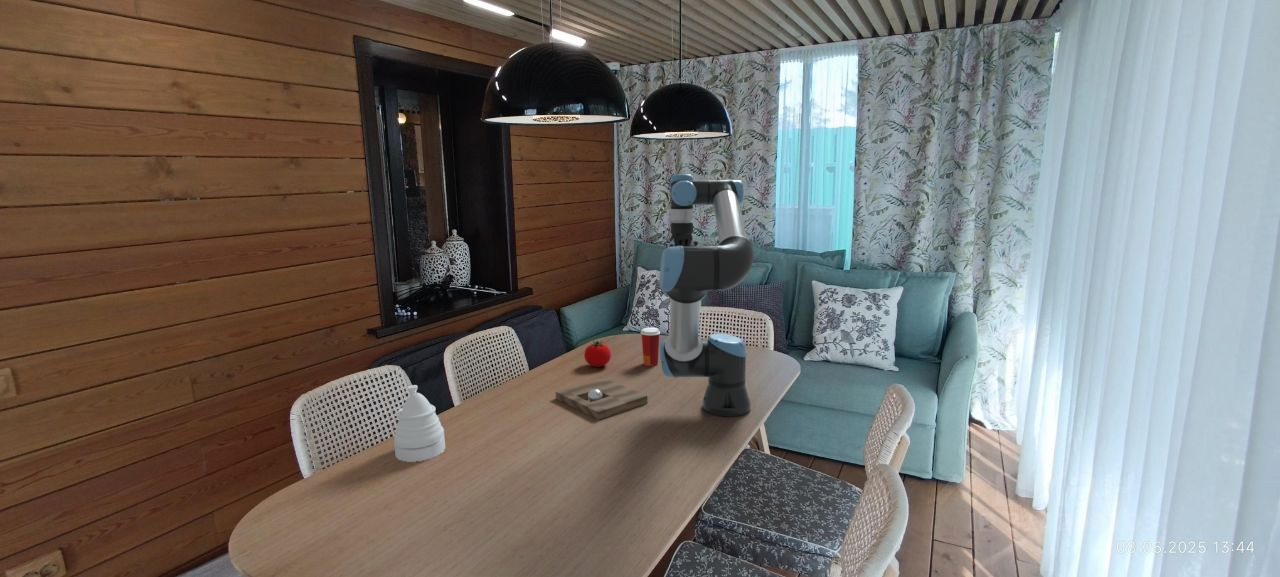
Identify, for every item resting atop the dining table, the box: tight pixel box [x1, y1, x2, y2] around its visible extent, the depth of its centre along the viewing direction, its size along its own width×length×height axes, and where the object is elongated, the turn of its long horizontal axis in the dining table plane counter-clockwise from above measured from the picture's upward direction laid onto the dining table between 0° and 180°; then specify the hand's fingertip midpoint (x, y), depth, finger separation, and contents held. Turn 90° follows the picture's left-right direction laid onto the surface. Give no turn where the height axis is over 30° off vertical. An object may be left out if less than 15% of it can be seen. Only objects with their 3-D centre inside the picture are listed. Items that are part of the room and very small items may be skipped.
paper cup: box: [639, 327, 661, 367], centre depth 231 cm, size 8×8×14 cm
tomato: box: [583, 340, 612, 368], centre depth 230 cm, size 10×10×10 cm
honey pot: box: [393, 384, 446, 463], centre depth 159 cm, size 13×13×18 cm
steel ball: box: [587, 389, 603, 402], centre depth 192 cm, size 5×5×5 cm
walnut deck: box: [555, 377, 648, 421], centre depth 195 cm, size 24×20×2 cm
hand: (682, 291), depth 199 cm, fingers closed
